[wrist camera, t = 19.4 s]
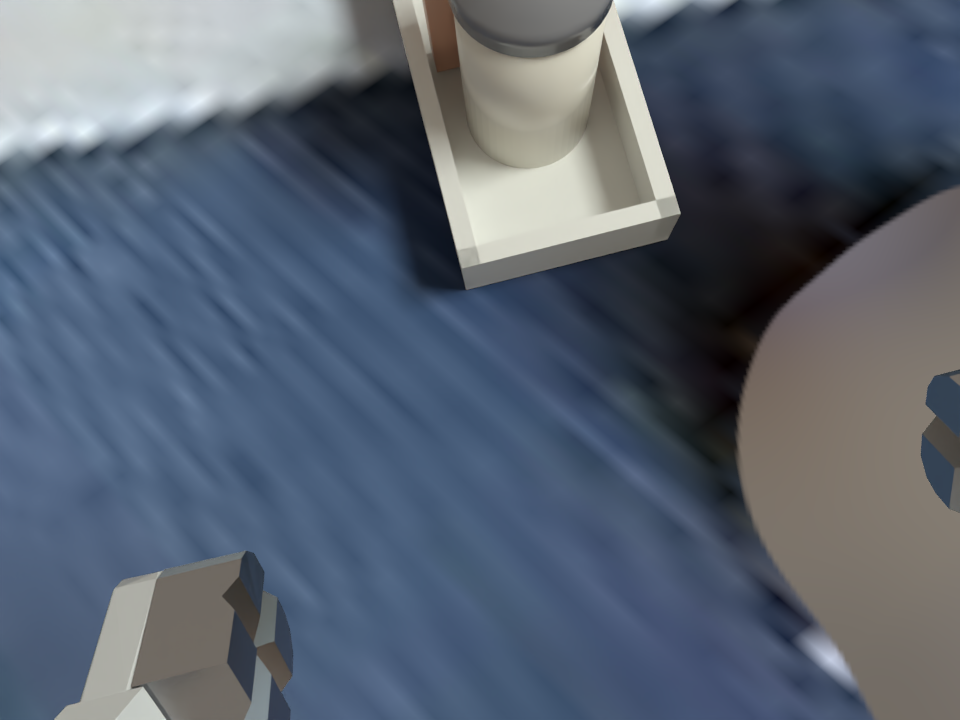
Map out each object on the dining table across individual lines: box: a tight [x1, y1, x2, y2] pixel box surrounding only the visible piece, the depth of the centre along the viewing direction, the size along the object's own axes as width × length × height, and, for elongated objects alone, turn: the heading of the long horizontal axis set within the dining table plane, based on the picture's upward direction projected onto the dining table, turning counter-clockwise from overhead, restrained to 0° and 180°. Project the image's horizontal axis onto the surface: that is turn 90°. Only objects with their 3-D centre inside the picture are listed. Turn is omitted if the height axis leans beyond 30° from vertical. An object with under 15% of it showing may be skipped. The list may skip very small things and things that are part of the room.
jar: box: [448, 0, 613, 169], centre depth 33 cm, size 6×6×11 cm
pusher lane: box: [392, 0, 681, 290], centre depth 34 cm, size 9×20×10 cm, turn 14°
